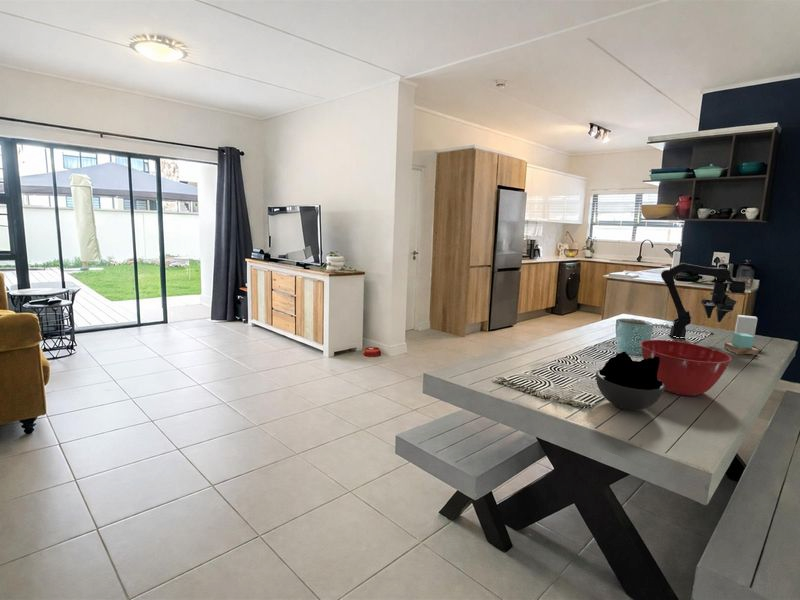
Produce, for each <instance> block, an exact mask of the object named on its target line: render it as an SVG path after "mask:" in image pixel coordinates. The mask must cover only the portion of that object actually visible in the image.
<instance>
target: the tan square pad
mask: <svg viewBox="0 0 800 600" xmlns="http://www.w3.org/2000/svg"><path fill="white" fill-rule="evenodd" d="M723 345H724V347H723V349H724V348H726V349H725V350H727V349H729V350H731V351H733V352H735V353H739V354H738V355H742V354H754V355H758V356H759V353H760V350H759V349H758V348H755V347H753V346H752V348H740V347H737V346H735V345H732V342H724V344H723ZM729 350H728V351H729ZM731 351H730V352H731ZM733 352H732V353H733ZM735 353H734V354H735ZM754 355H753V356H754Z"/></svg>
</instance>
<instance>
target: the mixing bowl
mask: <svg viewBox="0 0 800 600" xmlns="http://www.w3.org/2000/svg"><path fill="white" fill-rule="evenodd" d="M640 346H641V353H642V359H648V358H654V357H659V359H660V364H659V368H658V373H657V379H658V380H660V381H662V382H663V383H664V385H665V389H664V391H665V392H668V393H672V394H675V395H679V396H687V397H694V396H698V395H702V394H704V393H706V392H708V391H709V390H711V389H712V387H714V386H715V384H716V383H717V382H718V381H719V380H720V378H721V377H722V375H723V374H724V373H725V371H726V370H727V367H728V365H730V364H729V363H730V362H731V361H732V360H733V359H732V356H731V355H729V354H727V353H725V352H723V351H720V350H717V349H714V348H710V347H707V346H704V345H703V346H702V345H698V344H695V343H694V344H693V343H689V342H684V341H683V342H682V341H675V340H667V339H665V340H664V339H648V340H643V341H641V342H640Z"/></svg>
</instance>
